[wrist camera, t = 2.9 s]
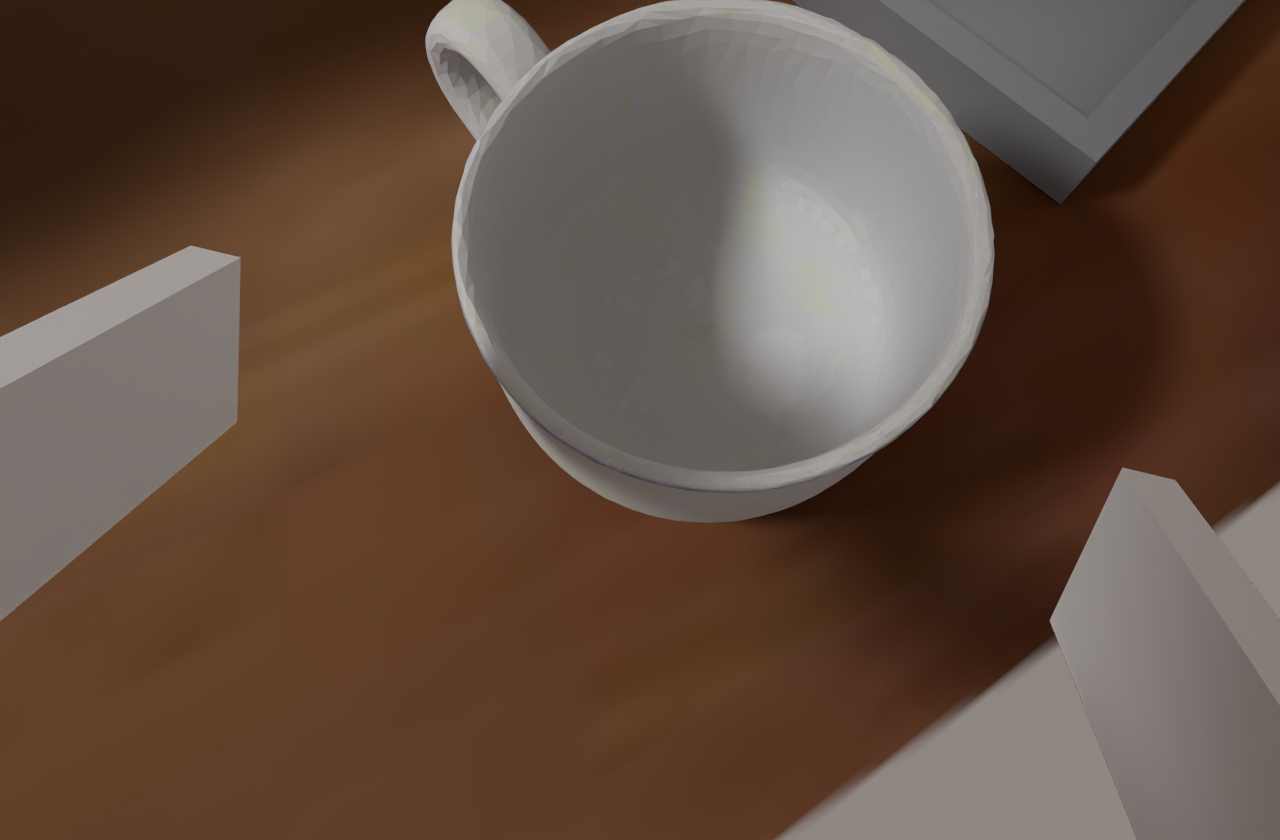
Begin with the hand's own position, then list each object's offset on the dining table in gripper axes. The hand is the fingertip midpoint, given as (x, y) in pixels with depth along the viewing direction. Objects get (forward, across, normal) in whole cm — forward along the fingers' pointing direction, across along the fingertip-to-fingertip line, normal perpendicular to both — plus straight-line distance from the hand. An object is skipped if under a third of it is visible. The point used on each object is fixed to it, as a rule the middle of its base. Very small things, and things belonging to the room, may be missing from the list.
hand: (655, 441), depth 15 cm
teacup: (+13, -1, -3) cm, 13 cm away
